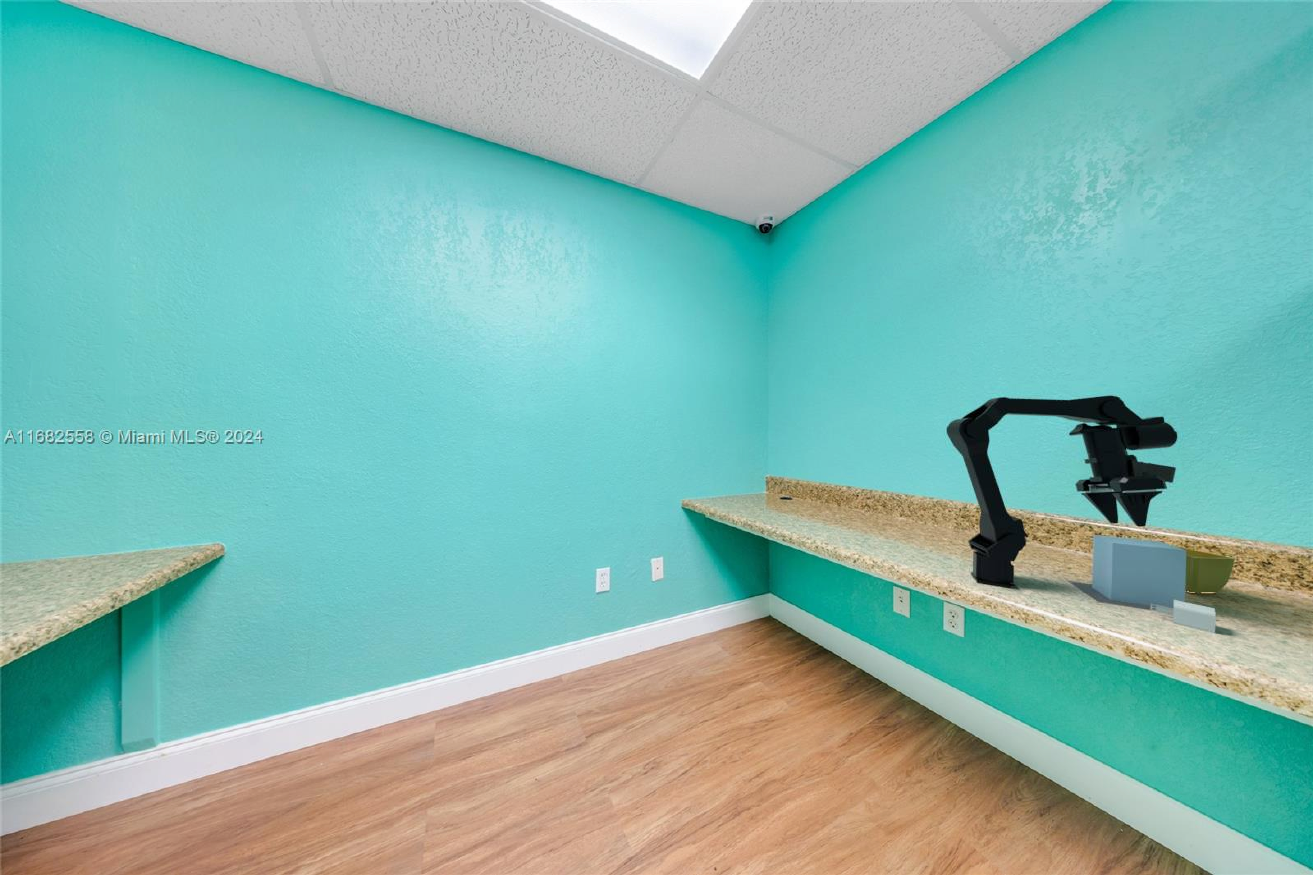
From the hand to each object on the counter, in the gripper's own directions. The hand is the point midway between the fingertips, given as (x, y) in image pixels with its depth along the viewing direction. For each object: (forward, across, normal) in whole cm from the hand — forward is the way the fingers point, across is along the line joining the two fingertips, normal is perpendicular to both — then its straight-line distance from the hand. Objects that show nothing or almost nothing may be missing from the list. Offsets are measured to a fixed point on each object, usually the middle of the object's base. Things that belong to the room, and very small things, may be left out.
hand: (1127, 524), depth 81 cm
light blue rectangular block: (+15, +2, +1) cm, 16 cm away
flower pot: (+16, +16, -13) cm, 26 cm away
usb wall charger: (+18, -9, 0) cm, 20 cm away
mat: (+16, +2, +1) cm, 16 cm away
